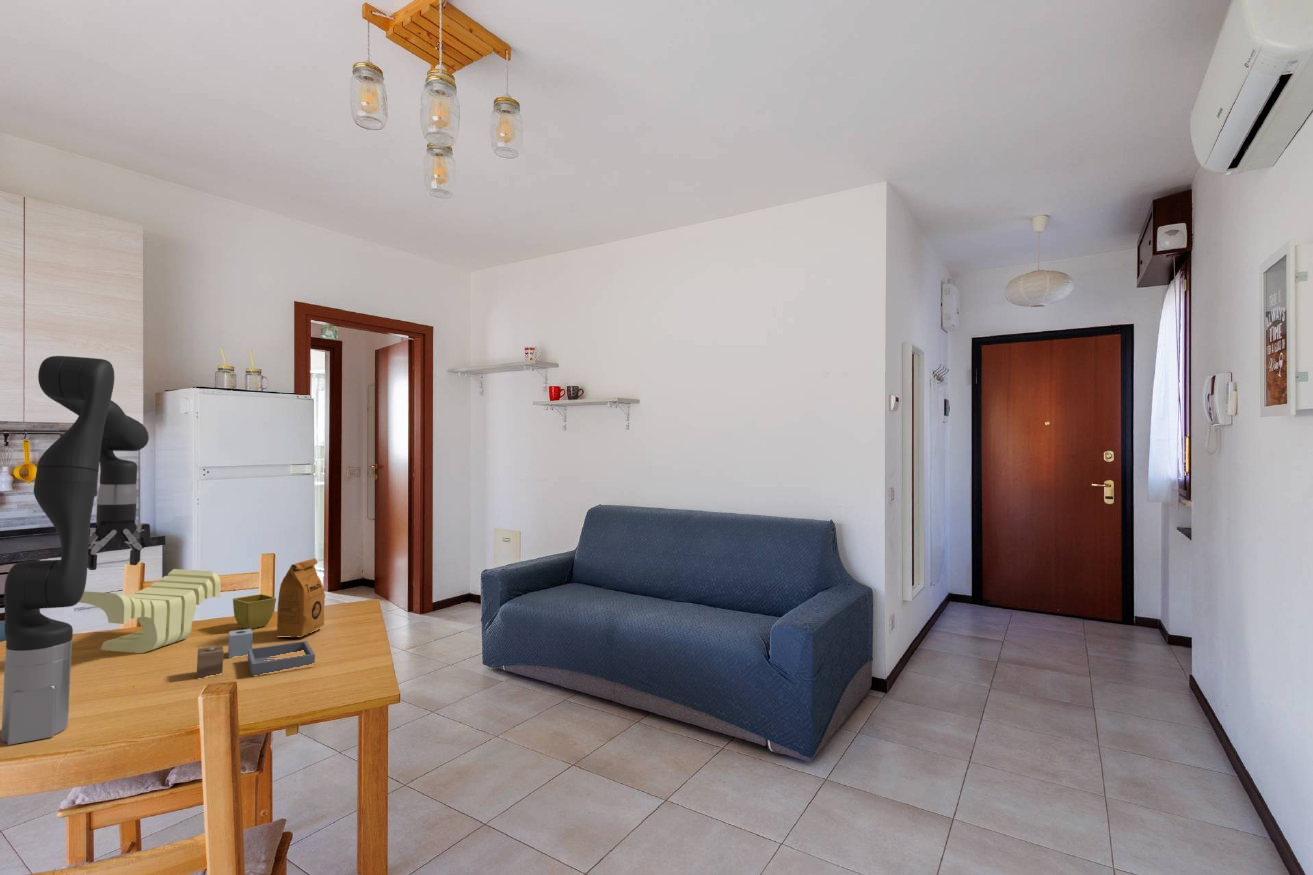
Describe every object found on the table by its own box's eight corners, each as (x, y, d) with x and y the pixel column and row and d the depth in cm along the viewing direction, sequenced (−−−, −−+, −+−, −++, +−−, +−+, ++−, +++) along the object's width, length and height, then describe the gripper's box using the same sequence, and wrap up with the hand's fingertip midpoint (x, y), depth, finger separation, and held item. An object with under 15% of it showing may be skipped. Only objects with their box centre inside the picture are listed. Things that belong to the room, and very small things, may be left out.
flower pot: (260, 621, 199) (262, 593, 199) (275, 626, 195) (277, 597, 195) (230, 627, 192) (231, 598, 192) (245, 632, 187) (246, 602, 187)
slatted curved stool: (121, 664, 158) (125, 594, 159) (66, 659, 160) (70, 590, 161) (218, 631, 188) (221, 571, 188) (171, 627, 190) (173, 568, 190)
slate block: (251, 655, 168) (252, 632, 168) (229, 658, 165) (230, 635, 165) (250, 650, 172) (251, 628, 172) (228, 653, 169) (229, 631, 169)
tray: (314, 667, 161) (314, 654, 161) (251, 677, 153) (252, 664, 153) (306, 652, 172) (306, 640, 172) (247, 661, 163) (247, 648, 164)
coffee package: (329, 629, 193) (332, 558, 194) (301, 641, 181) (304, 565, 181) (300, 627, 195) (303, 556, 195) (270, 638, 182) (273, 563, 183)
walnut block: (222, 675, 153) (223, 649, 154) (197, 679, 150) (198, 652, 151) (221, 669, 157) (222, 643, 158) (196, 673, 154) (198, 646, 155)
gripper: (89, 504, 148) (85, 573, 148) (158, 501, 161) (154, 564, 161) (73, 502, 152) (69, 570, 151) (141, 500, 165) (138, 561, 164)
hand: (113, 567), depth 156 cm, fingers open, 8 cm apart
